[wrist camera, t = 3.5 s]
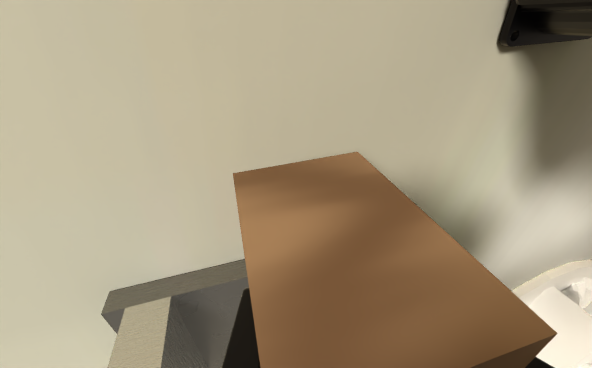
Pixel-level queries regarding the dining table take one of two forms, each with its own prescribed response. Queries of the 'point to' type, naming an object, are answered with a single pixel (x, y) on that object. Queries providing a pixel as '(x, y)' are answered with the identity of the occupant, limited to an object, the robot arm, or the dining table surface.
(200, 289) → the vise base
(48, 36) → the dining table surface
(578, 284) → the dish
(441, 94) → the dining table surface
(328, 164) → the brown rectangular block
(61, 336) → the dining table surface
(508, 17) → the robot arm
